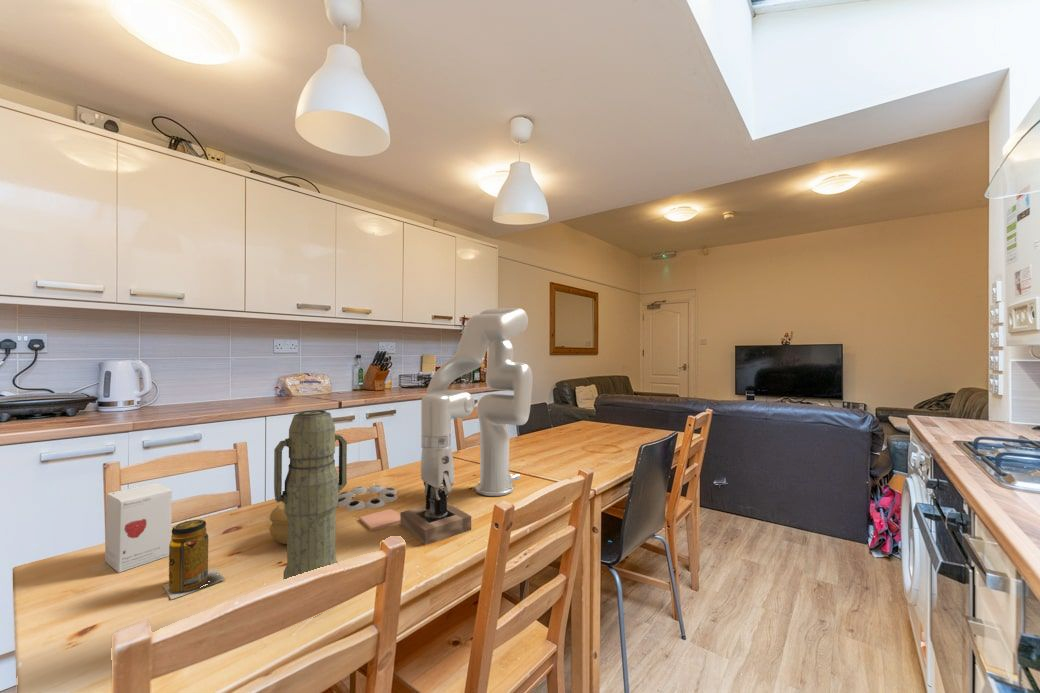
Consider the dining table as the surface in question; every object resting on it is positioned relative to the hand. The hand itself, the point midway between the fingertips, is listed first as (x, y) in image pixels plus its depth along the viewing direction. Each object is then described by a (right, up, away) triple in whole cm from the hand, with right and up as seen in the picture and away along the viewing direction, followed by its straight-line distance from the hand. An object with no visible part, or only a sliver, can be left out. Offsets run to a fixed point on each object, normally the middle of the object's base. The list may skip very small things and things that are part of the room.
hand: (436, 510), depth 107 cm
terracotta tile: (-15, -4, +4) cm, 17 cm away
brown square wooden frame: (0, -4, 0) cm, 4 cm away
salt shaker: (0, -5, 0) cm, 5 cm away
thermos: (-16, -4, -32) cm, 36 cm away
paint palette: (-26, -5, +21) cm, 34 cm away
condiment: (-43, -4, -26) cm, 50 cm away
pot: (-33, -5, -7) cm, 34 cm away
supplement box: (-62, -4, -17) cm, 65 cm away
